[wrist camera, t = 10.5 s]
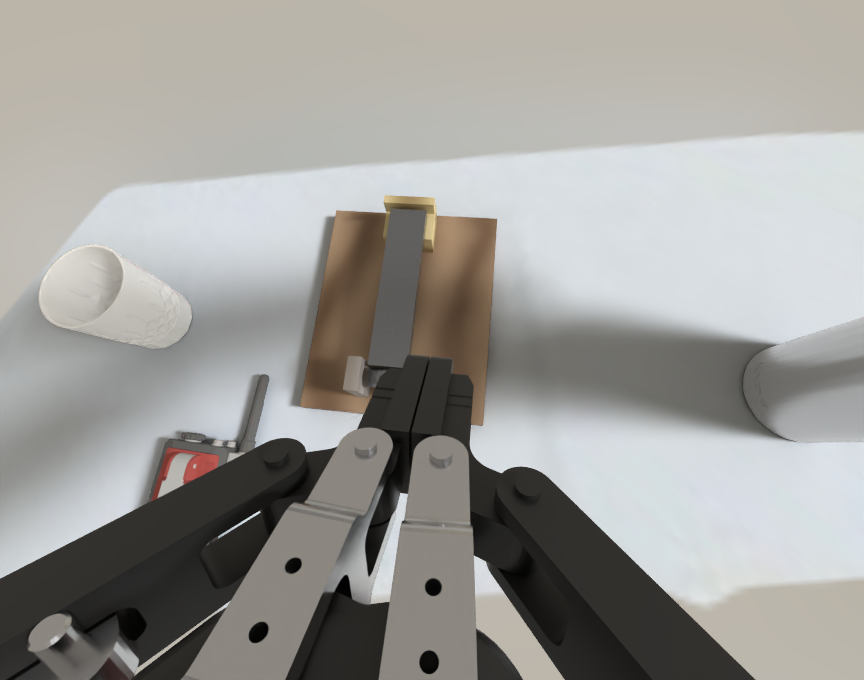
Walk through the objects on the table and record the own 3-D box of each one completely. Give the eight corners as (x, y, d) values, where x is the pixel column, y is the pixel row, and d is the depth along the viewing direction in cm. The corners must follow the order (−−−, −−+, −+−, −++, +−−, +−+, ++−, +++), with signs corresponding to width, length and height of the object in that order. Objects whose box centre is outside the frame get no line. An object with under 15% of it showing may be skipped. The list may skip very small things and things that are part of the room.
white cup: (144, 283, 45) (59, 239, 36) (207, 292, 45) (137, 250, 35) (119, 348, 43) (22, 320, 34) (184, 359, 43) (104, 334, 33)
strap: (427, 219, 40) (426, 208, 39) (406, 391, 36) (404, 389, 34) (393, 217, 41) (390, 206, 39) (368, 388, 36) (363, 385, 34)
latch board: (495, 226, 44) (501, 190, 38) (482, 425, 39) (486, 421, 32) (340, 218, 46) (321, 181, 40) (305, 407, 40) (276, 400, 34)
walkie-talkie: (230, 588, 37) (281, 378, 42) (199, 607, 32) (260, 370, 37) (144, 571, 38) (204, 367, 43) (104, 587, 33) (176, 358, 38)
